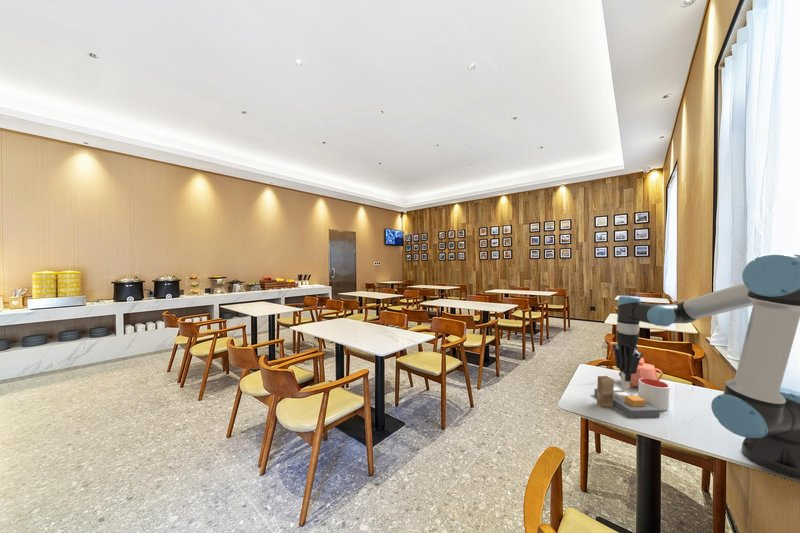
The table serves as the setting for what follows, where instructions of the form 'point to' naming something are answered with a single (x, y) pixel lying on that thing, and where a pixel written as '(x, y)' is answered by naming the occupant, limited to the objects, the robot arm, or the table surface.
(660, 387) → the cup
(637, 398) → the orange rectangular block
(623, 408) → the panel
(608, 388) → the oak post
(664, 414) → the table surface
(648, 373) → the teapot
